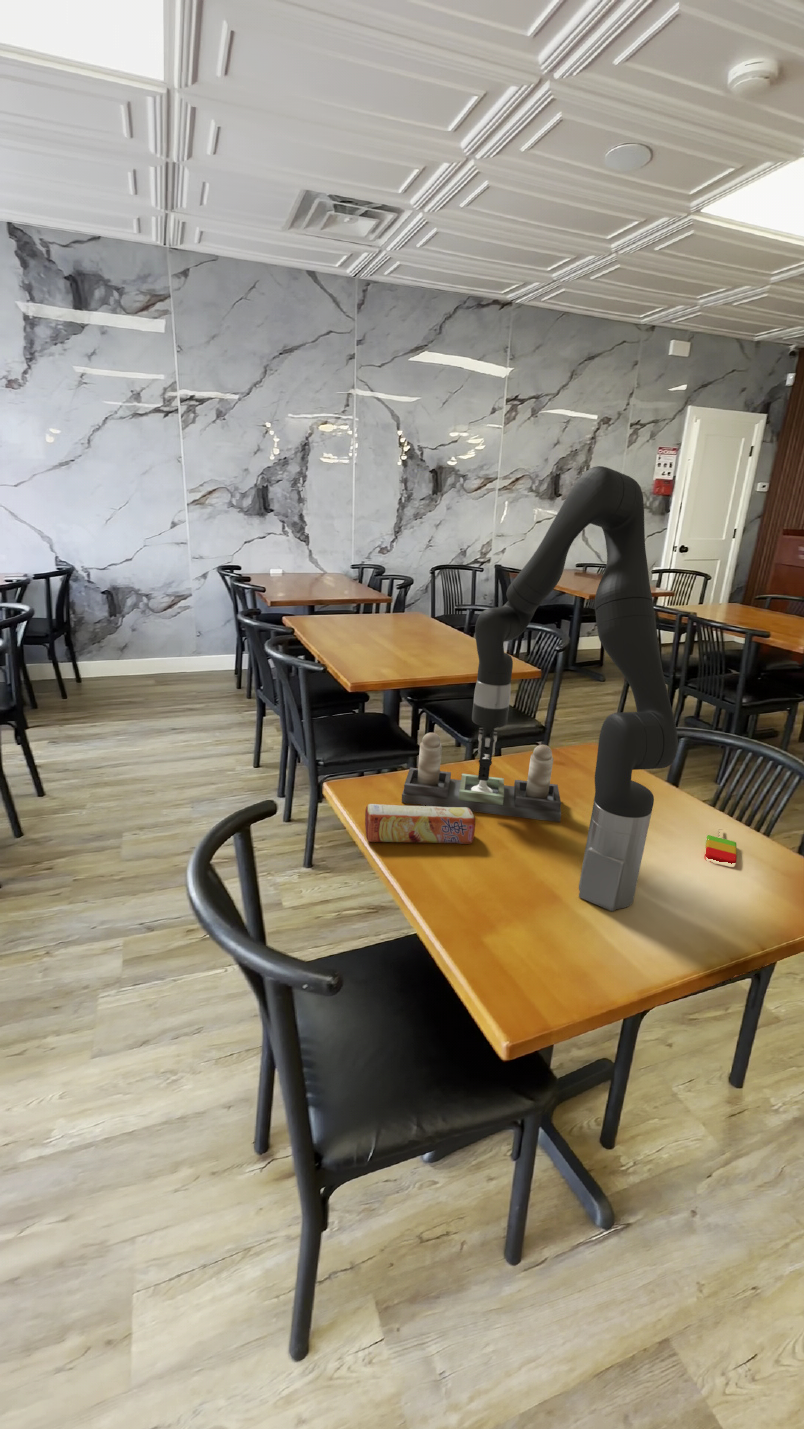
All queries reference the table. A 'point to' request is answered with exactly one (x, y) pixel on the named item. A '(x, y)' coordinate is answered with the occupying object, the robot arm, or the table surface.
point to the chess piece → (482, 784)
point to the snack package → (419, 824)
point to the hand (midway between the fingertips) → (483, 771)
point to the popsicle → (721, 849)
